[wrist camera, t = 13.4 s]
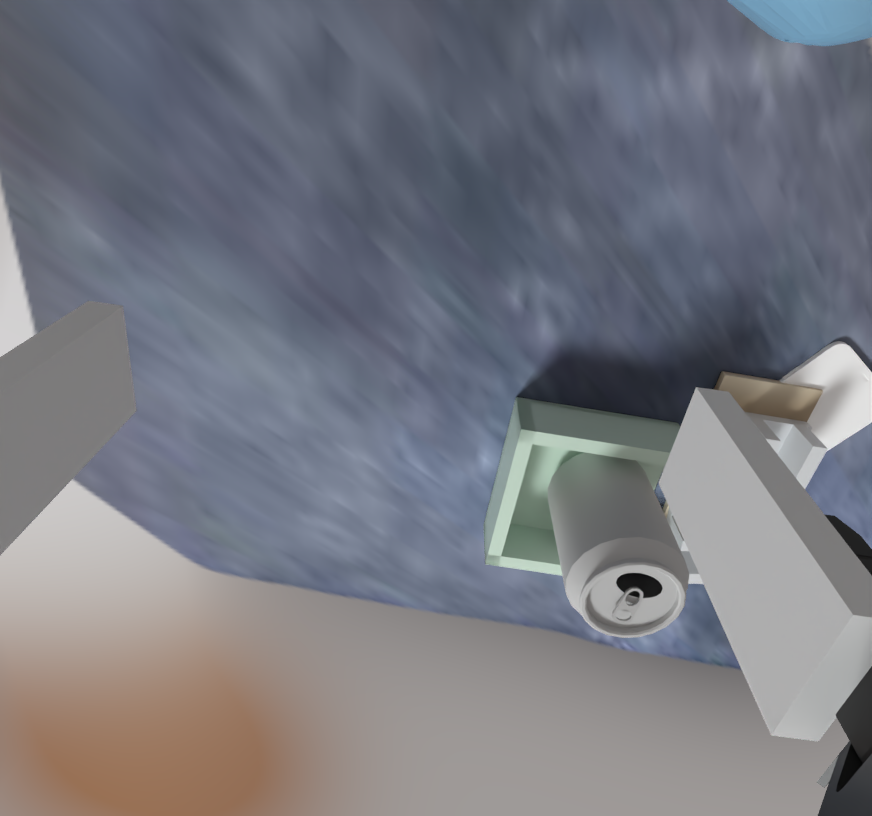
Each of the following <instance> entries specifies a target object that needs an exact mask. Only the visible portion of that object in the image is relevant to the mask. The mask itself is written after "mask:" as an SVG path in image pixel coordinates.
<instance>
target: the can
mask: <svg viewBox="0 0 872 816" xmlns="http://www.w3.org/2000/svg"><path fill="white" fill-rule="evenodd" d="M548 503H549V508H550V514H551V519H552V524H553V529H554V534H555V539H556V545H557V550H558V555H559V560H560V565H561V570H562V575H563V581H564V586H565V591H566V594H567V597H568V599H569V601H570V603H571V605H572V607H574V608H575V609H576V610H577V611H578V612H579V613H580V614H581V615H582V616H583V618H584V620H585V621H586V622H587V623H588V624H589V625H590V626H591V627H592V628H593V629H595V630H597V631H600V632H602V633H604V634H606V635H610V636H616V637H621V638H628V637H640V636H644V635H648V634H652V633H655V632H657V631H659V630H661V629H663V628H665V627H667V626H668V625H669V624H670V623H671V622H672V621H674V620H675V619H676V618H677V617H678V616H679V614H680V612H681V611H682V609H683V607H684V606H685V599H686V590H687V588H688V581H689V571H688V568H687V565H686V562H685V559H684V557H683V555H682V553H681V550H680V548H679V546H678V544H677V541H676V539H675V537H674V535H673V532H672V530H671V528H670V526H669V524H668V521H667V519H666V517H665V515H664V512H663V510H662V508H661V506H660V503H659V501H658V499H657V497H656V495H655V492H654V490H653V488H652V486H651V483H650V481H649V479H648V477H647V474H646V472H645V470H644V469H643V468H642V467H641V466H640V464H639V463H638V462H637V461H636V460H629V459H623V458H617V457H610V456H604V455H597V454H591V453H582V454H579V455H576V456H574V457H573V458H571V459H570V460H568V461H567V462H565V463H563V464H562V465H561V466H560V467H559V469H558V470H557V471H556V472H555V473H554V474H553V476H552V478H551V481H550V484H549V486H548Z"/></svg>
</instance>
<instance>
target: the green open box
mask: <svg viewBox="0 0 872 816" xmlns="http://www.w3.org/2000/svg"><path fill="white" fill-rule="evenodd" d="M679 429H680V425H679V424H678V423H676V422H669V421H663V420H657V419H651V418H644V417H638V416H632V415H626V414H619V413H613V412H607V411H601V410H595V409H588V408H582V407H576V406H570V405H563V404H557V403H551V402H545V401H538V400H532V399H526V398H520V397H516V399H515V403H514V407H513V411H512V415H511V419H510V423H509V427H508V431H507V435H506V439H505V443H504V446H503V450H502V454H501V458H500V462H499V466H498V470H497V474H496V478H495V482H494V486H493V490H492V494H491V498H490V502H489V506H488V510H487V513H486V517H485V521H484V547H485V564H488V565H494V566H501V567H508V568H515V569H521V570H528V571H535V572H542V573H548V574H555V575H562V570H561V565H560V560H559V555H558V550H557V545H556V539H555V534H554V529H553V524H552V519H551V514H550V508H549V503H548V486H549V484H550V481H551V478H552V476H553V474H554V473H555V472H556V471H557V470H558V469H559V467H560V466H561V465H562V464H563V463H565V462H567V461H568V460H570V459H571V458H573V457H574V456H576V455H579V454H582V453H591V454H597V455H604V456H610V457H617V458H623V459H629V460H636V461H637V462H638V463H639V464H640V466H641V467H642V468H643V469H644V470H645V472H646V474H647V477H648V479H649V481H650V483H651V486H652V488H653V490H655V488H656V485H657V483H658V480H659V478H660V475H661V473H662V471H663V468H664V466H665V465H666V462H667V460H668V457H669V455H670V452H671V450H672V447H673V445H674V442H675V440H676V437H677V434H678V432H679ZM562 576H563V575H562Z"/></svg>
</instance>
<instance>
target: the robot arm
mask: <svg viewBox="0 0 872 816" xmlns="http://www.w3.org/2000/svg"><path fill="white" fill-rule="evenodd" d="M727 1H728V2H729V3H730V4H732V5H733V6H734V7H735V8H737V9H738V10H739V11H740V12H741V13H743V14H744V15H745V16H746V17H748V18H749V19H750V20H751V21H752V22H754V23H755V24H756V25H757V26H758V27H760V28H761V29H762V30H764V31H765V32H766V33H768V34H769V35H771V36H772V37H774V38H777V39H779V40H782V41H785V42H798V43H802V44H805V45H817V46H832V45H839V44H845V43H850V42H855V41H859V40H863V39H867V38H871V37H872V0H727ZM135 412H136V403H135V395H134V388H133V380H132V372H131V365H130V357H129V349H128V341H127V334H126V326H125V318H124V311H123V306H121V305H114V304H107V303H100V302H93V301H88V302H86V303H85V304H83V305H81V306H80V307H78V308H77V309H75V310H74V311H72V312H70V313H69V314H67V315H66V316H64V317H63V318H61V319H59V320H58V321H56V322H55V323H53V324H52V325H50V326H48V327H47V328H45V329H44V330H42V331H41V332H39V333H37V334H36V335H34V336H33V337H31V338H30V339H28V340H27V341H25V342H24V343H22V344H20V345H19V346H17V347H16V348H14V349H13V350H11V351H9V352H8V353H6V354H5V355H3V356H1V357H0V555H1V554H2V553H3V552H4V551H5V550H6V549H7V548H8V546H9V545H10V544H11V543H12V542H13V541H14V540H15V539H16V538H17V537H18V536H19V535H20V534H21V533H22V532H23V531H24V529H25V528H26V527H27V526H28V525H29V524H30V523H31V522H32V521H33V520H34V519H35V518H36V517H37V516H38V515H39V514H40V513H41V512H42V511H43V509H44V508H45V507H46V506H47V505H48V504H49V503H50V502H51V501H52V500H53V499H54V498H55V497H56V495H58V494H59V492H60V491H61V490H62V489H63V488H64V487H65V486H66V485H67V484H68V483H69V482H70V481H71V480H72V479H73V478H74V477H75V476H76V475H77V473H78V472H79V471H80V470H81V469H82V468H83V467H84V466H85V465H86V464H87V463H88V462H89V461H90V460H91V459H92V458H93V457H94V455H95V454H96V453H97V452H98V451H99V450H100V449H101V448H102V447H103V446H104V445H105V444H106V443H107V442H108V441H109V440H110V438H111V437H112V436H113V435H114V434H115V433H116V432H117V431H118V430H119V429H120V428H121V427H122V426H123V425H124V424H125V423H126V422H127V420H128V419H129V418H130V417H131V416H132V415H133V414H134V413H135ZM659 485H660V487H661V489H662V492H663V494H664V496H665V498H666V501H667V503H668V505H669V507H670V510H671V512H672V514H673V516H674V519H675V521H676V523H677V525H678V528H679V530H680V532H681V534H682V537H683V539H684V541H685V543H686V546H687V548H688V550H689V552H690V555H691V557H692V559H693V561H694V563H695V566H696V568H697V570H698V572H699V575H700V577H701V579H702V581H703V584H704V586H705V588H706V590H707V593H708V595H709V597H710V599H711V602H712V604H713V606H714V608H715V611H716V613H717V615H718V617H719V620H720V622H721V624H722V626H723V629H724V631H725V633H726V635H727V638H728V640H729V642H730V644H731V647H732V649H733V651H734V653H735V656H736V658H737V660H738V662H739V665H740V667H741V669H742V671H743V673H744V676H745V678H746V680H747V682H748V685H749V687H750V689H751V691H752V694H753V696H754V698H755V700H756V703H757V705H758V707H759V709H760V712H761V714H762V716H763V718H764V721H765V723H766V725H767V727H768V729H769V732H770V734H771V735H772V736H780V737H789V738H796V739H804V740H811V741H819V740H820V738H821V737H822V736H823V734H824V733H825V732H826V730H827V729H828V728H829V726H830V725H831V724H832V722H833V721H834V720H835V718H836V717H837V718H838V720H839V722H840V724H841V726H842V728H843V729H844V731H845V733H846V734H847V737H848V738H849V740H850V741H849V742H848V744H847V745H846V746H845V747H844V749H843V750H842V751H841V752H840V754H839V755H838V756H837V757H836V759H835V760H834V761H833V762H832V764H831V765H830V766H829V767H828V769H827V770H826V772H825V773H824V774H823V775H822V776H821V778H820V779H819V780H818V781H817V783H818V784H820V785H821V786H822V787H825V786H826V785H827V784H828V783H829V785H828V787H827V790H826V793H825V796H824V799H823V802H822V805H821V808H820V811H819V814H818V816H872V549H871V548H870V547H869V546H868V544H867V543H866V542H865V541H864V539H863V538H862V537H861V536H860V535H859V534H857V533H856V532H855V531H854V530H852V529H851V528H850V527H848V526H847V525H846V524H844V523H843V522H842V521H841V520H839V519H838V518H837V517H835V516H831V515H824V514H823V512H822V511H821V510H820V508H819V507H818V506H817V505H816V503H815V502H814V501H813V499H812V498H811V497H810V496H809V494H808V493H807V492H806V490H805V489H804V488H803V487H802V485H801V484H800V483H799V481H798V480H797V479H796V478H795V476H794V475H793V474H792V472H791V471H790V470H789V469H788V467H787V466H786V465H785V463H784V462H783V461H782V460H781V458H780V457H779V456H778V454H777V453H776V452H775V451H774V449H773V448H772V447H771V445H770V444H769V443H768V442H767V440H766V439H765V438H764V436H763V435H762V434H761V433H760V431H759V430H758V429H757V427H756V426H755V425H754V424H753V422H752V421H751V420H750V418H749V417H748V416H747V415H746V413H745V412H744V411H743V409H742V408H741V407H740V406H739V404H738V403H737V402H736V400H735V399H734V398H733V397H732V395H731V394H730V393H729V392H727V391H720V390H713V389H706V388H699V387H696V389H695V391H694V394H693V396H692V399H691V401H690V404H689V406H688V409H687V411H686V414H685V417H684V419H683V422H682V424H681V427H680V429H679V432H678V434H677V437H676V440H675V442H674V445H673V447H672V450H671V452H670V455H669V457H668V460H667V462H666V465H665V468H664V470H663V473H662V475H661V478H660V480H659Z"/></svg>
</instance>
